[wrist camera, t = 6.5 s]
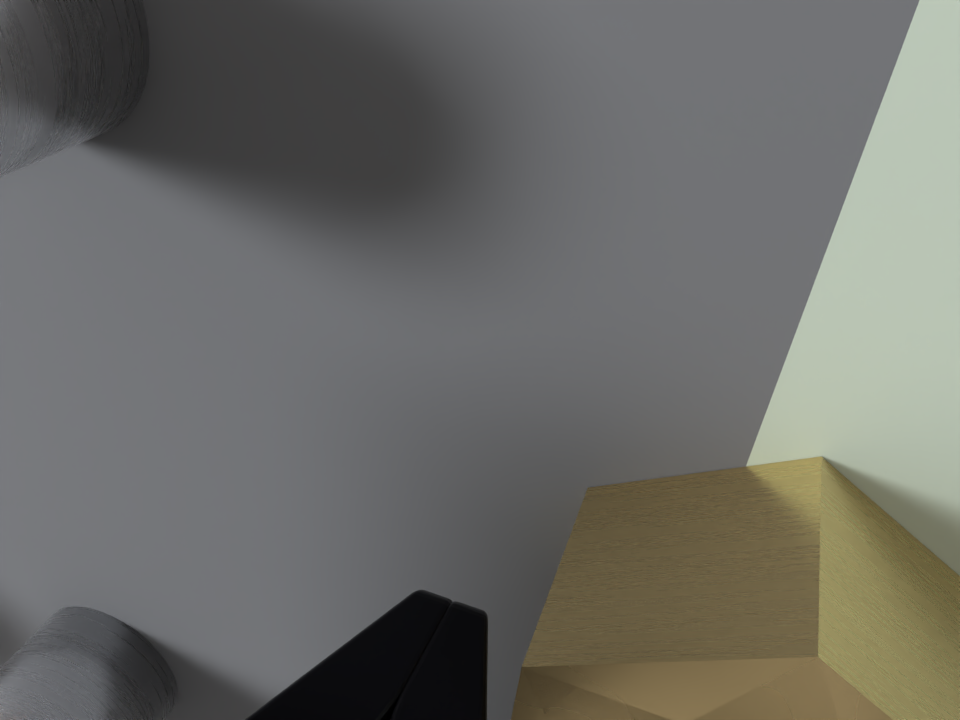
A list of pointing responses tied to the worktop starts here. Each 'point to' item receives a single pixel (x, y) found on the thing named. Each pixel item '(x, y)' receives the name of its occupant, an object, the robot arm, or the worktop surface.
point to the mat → (463, 306)
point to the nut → (744, 606)
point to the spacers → (4, 149)
